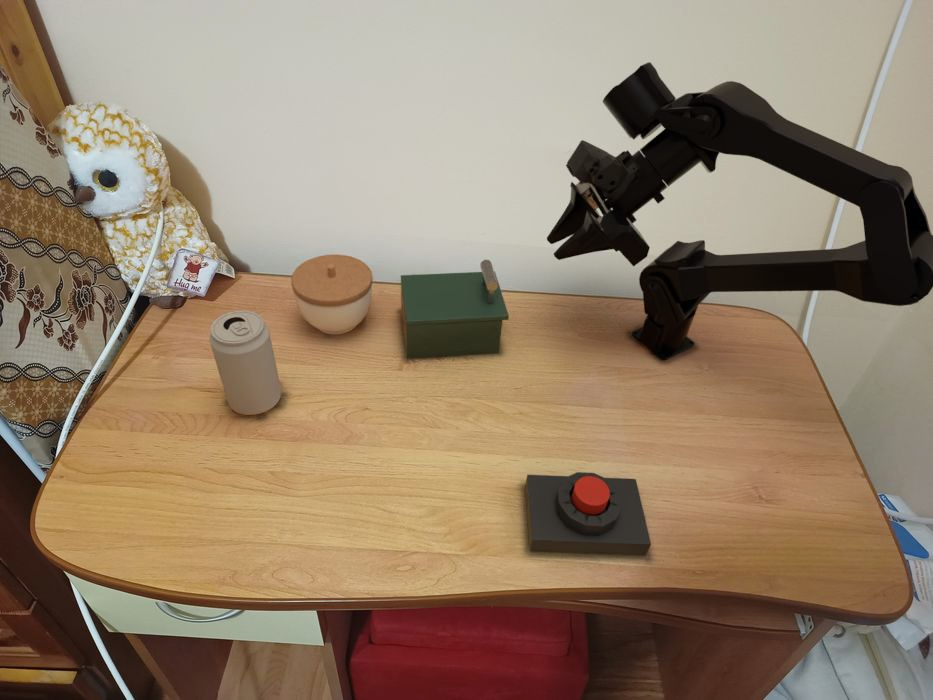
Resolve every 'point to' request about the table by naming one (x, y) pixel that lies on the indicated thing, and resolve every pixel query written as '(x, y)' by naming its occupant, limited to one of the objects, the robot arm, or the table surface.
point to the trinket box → (333, 292)
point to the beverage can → (245, 362)
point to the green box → (450, 338)
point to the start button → (590, 495)
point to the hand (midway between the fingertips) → (552, 249)
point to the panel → (584, 518)
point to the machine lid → (453, 297)
